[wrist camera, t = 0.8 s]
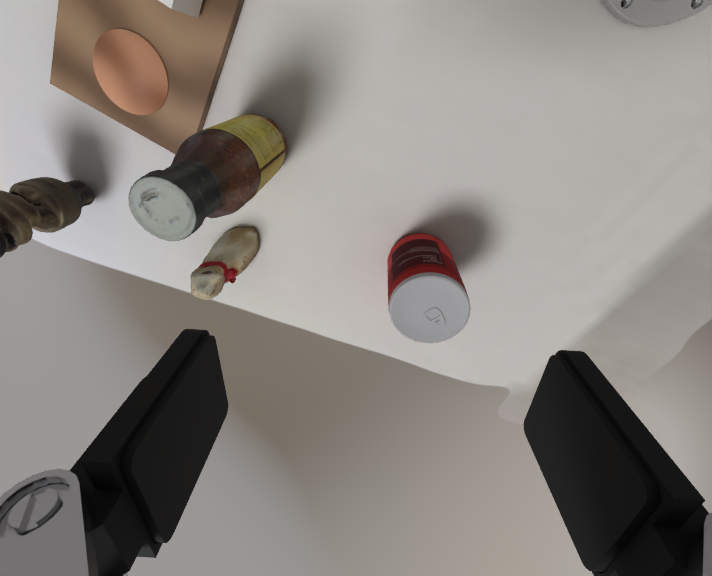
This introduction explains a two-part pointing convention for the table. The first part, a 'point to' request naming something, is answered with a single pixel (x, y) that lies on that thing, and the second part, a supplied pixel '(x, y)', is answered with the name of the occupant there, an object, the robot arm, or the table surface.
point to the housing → (184, 6)
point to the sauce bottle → (209, 176)
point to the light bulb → (39, 209)
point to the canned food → (425, 290)
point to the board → (144, 62)
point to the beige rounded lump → (224, 262)
